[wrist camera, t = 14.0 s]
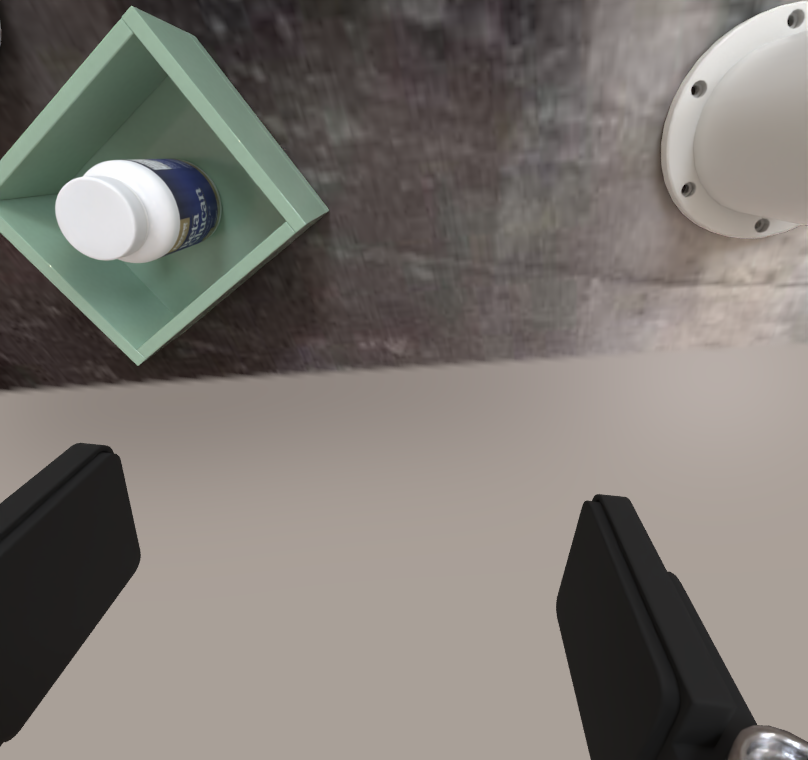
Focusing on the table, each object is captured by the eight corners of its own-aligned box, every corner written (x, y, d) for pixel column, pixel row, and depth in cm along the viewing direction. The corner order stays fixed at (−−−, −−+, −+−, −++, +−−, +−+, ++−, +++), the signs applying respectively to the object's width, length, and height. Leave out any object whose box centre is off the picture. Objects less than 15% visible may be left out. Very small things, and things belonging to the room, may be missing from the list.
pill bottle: (226, 247, 34) (155, 281, 26) (149, 239, 34) (51, 270, 26) (221, 162, 32) (141, 167, 23) (139, 153, 32) (27, 155, 23)
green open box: (194, 35, 30) (131, 4, 24) (329, 210, 34) (306, 224, 28) (52, 190, 34) (-35, 199, 28) (186, 330, 38) (137, 366, 32)
